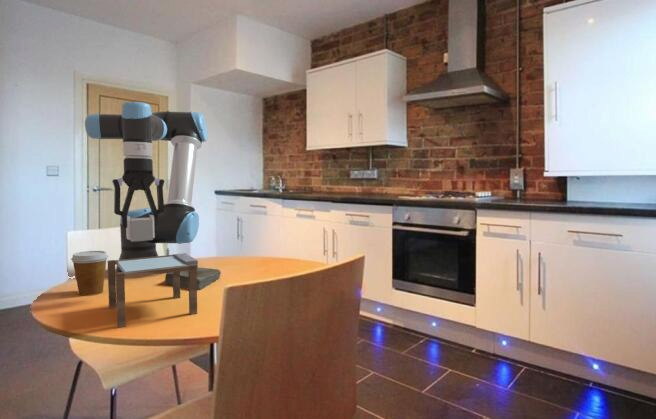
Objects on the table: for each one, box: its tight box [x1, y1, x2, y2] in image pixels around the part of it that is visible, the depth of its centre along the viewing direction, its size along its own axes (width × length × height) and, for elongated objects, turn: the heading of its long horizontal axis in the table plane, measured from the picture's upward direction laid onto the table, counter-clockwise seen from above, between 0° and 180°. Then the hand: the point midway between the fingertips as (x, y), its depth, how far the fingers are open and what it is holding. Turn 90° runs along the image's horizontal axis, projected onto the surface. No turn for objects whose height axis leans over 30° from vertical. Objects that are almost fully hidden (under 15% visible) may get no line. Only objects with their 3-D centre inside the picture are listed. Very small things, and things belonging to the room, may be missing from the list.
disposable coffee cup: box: [70, 250, 109, 296], centre depth 121 cm, size 10×10×12 cm
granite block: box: [130, 218, 153, 242], centre depth 117 cm, size 6×6×6 cm
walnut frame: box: [107, 253, 198, 329], centre depth 105 cm, size 18×18×13 cm
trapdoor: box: [117, 252, 199, 273], centre depth 106 cm, size 15×17×2 cm
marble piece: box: [164, 266, 222, 291], centre depth 134 cm, size 17×15×4 cm
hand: (140, 237), depth 117 cm, fingers closed on granite block, 6 cm apart
